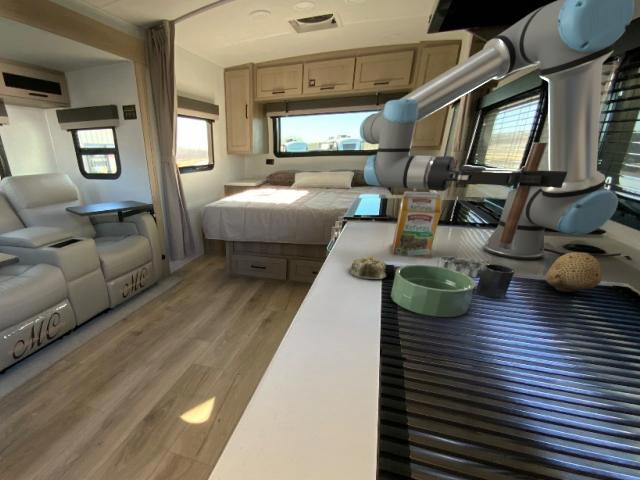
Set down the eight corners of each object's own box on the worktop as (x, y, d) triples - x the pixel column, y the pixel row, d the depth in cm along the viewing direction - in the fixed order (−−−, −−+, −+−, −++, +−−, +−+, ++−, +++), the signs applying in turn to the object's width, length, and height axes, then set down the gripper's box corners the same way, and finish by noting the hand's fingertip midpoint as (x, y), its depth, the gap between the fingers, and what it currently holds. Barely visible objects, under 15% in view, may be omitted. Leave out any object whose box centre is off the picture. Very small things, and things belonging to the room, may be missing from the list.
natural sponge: (601, 297, 77) (622, 257, 73) (574, 303, 75) (594, 261, 71) (558, 283, 85) (574, 245, 81) (532, 287, 83) (548, 249, 79)
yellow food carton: (392, 254, 108) (405, 193, 100) (392, 245, 117) (403, 189, 108) (429, 257, 104) (444, 195, 96) (425, 248, 113) (440, 190, 105)
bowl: (449, 290, 82) (456, 266, 79) (480, 321, 68) (491, 293, 65) (383, 287, 84) (388, 263, 81) (401, 317, 70) (407, 289, 67)
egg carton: (487, 275, 91) (492, 261, 89) (470, 280, 88) (475, 265, 86) (450, 263, 99) (453, 250, 97) (433, 267, 96) (437, 254, 94)
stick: (508, 241, 74) (542, 142, 65) (513, 243, 72) (550, 142, 63) (497, 240, 74) (530, 142, 66) (502, 243, 72) (537, 142, 64)
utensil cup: (495, 291, 81) (505, 264, 78) (509, 301, 76) (520, 273, 73) (470, 290, 82) (478, 263, 79) (482, 300, 77) (491, 272, 74)
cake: (344, 269, 97) (346, 251, 95) (378, 270, 97) (381, 252, 95) (354, 279, 88) (357, 260, 86) (392, 280, 88) (396, 260, 86)
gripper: (436, 186, 85) (558, 194, 71) (418, 193, 75) (554, 205, 61) (444, 154, 82) (573, 156, 67) (425, 157, 72) (572, 160, 57)
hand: (564, 179), depth 64 cm, fingers closed on stick, 2 cm apart
